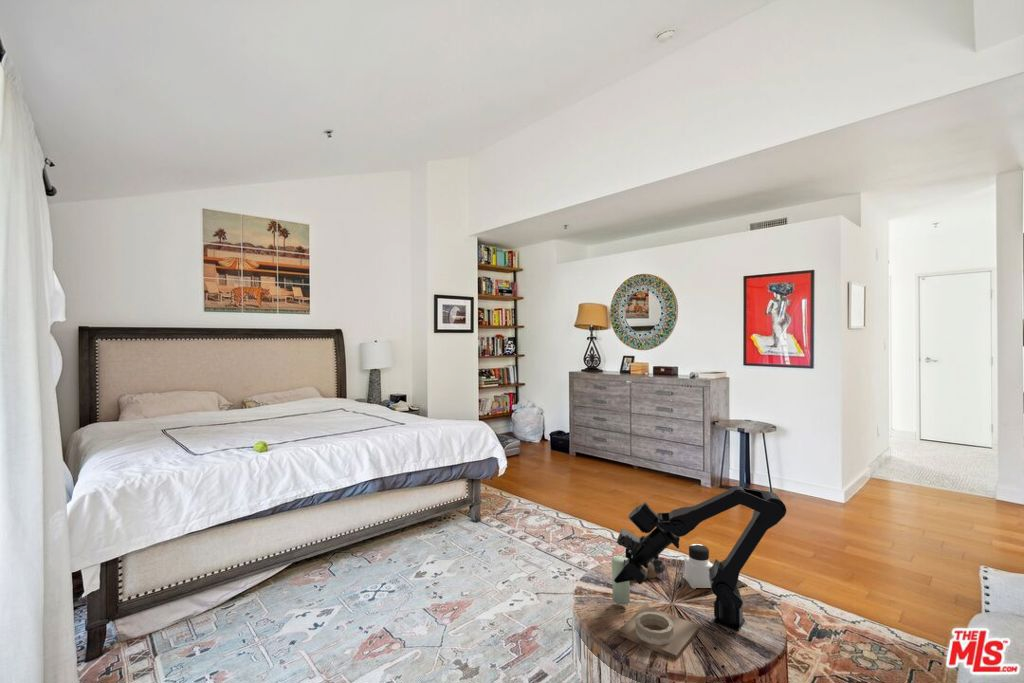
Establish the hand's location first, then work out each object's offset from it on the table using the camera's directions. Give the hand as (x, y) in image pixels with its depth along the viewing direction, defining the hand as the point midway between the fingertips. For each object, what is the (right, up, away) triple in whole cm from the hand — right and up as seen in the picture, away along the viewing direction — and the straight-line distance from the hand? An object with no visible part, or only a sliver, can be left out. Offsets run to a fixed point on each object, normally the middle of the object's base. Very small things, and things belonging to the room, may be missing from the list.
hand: (616, 577), depth 142 cm
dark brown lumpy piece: (+13, -9, +17) cm, 23 cm away
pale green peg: (+1, -7, 0) cm, 7 cm away
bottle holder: (+9, -8, -13) cm, 18 cm away
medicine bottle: (+30, -8, +12) cm, 33 cm away
